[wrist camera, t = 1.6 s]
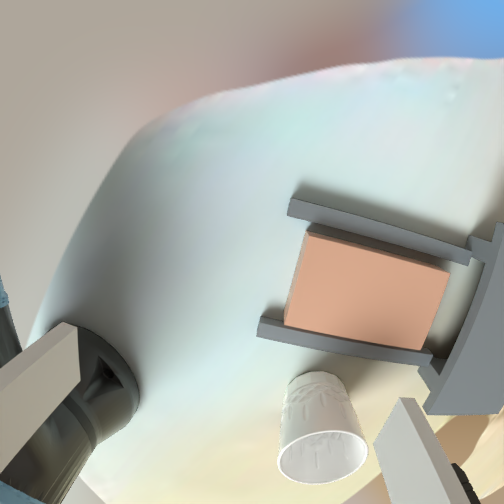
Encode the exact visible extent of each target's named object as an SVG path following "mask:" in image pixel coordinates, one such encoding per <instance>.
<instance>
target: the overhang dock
mask: <svg viewBox="0 0 504 504" xmlns="http://www.w3.org/2000/svg"><path fill="white" fill-rule="evenodd" d="M287 216H290V217H294V218H298V219H302V220H306V221H310V222H314V223H318V224H322V225H326V226H330V227H333V228H337V229H341V230H345V231H348V232H352V233H356V234H360V235H363V236H367V237H371V238H374V239H378V240H381V241H385V242H389V243H392V244H396V245H399V246H403V247H406V248H409V249H413V250H416V251H420V252H423V253H426V254H430V255H433V256H436V257H440V258H443V259H446V260H450V261H453V262H456V263H459V264H462V265H466V266H468V265H469V262H470V258H471V257H473V258H475V259H477V260H479V261H482V262H484V263H485V266H484V269H483V273H482V276H481V279H480V282H479V285H478V288H477V290H476V293H475V296H474V299H473V301H472V304H471V307H470V309H469V312H468V314H467V317H466V319H465V322H464V324H463V327H462V329H461V331H460V334H459V336H458V338H457V340H456V343H455V345H454V347H453V349H452V351H451V354H450V356H449V358H448V359H441V358H433V354H432V353H431V351H430V350H429V349H427V348H421V350H415V349H408V348H402V347H396V346H390V345H384V344H378V343H372V342H367V341H361V340H356V339H351V338H345V337H340V336H335V335H330V334H325V333H320V332H315V331H310V330H306V329H301V328H296V327H292V326H287V325H284V321H280V320H275V319H271V318H266V317H262V316H261V317H260V321H259V325H258V329H257V335H256V337H260V338H265V339H269V340H274V341H278V342H283V343H287V344H292V345H297V346H302V347H307V348H312V349H317V350H322V351H327V352H333V353H338V354H344V355H350V356H356V357H362V358H368V359H374V360H380V361H387V362H394V363H401V364H409V365H416V366H420V367H419V369H418V373H419V374H420V376H421V377H422V379H423V380H424V382H425V384H426V385H427V387H428V388H429V390H430V391H431V392H430V394H429V396H428V398H427V400H426V401H425V403H424V405H423V406H422V407H423V409H424V410H425V412H426V414H427V415H485V414H498V413H499V412H500V410H501V408H502V407H503V405H504V223H500V222H496V226H495V231H494V234H493V238H492V242H488V241H486V240H483V239H480V238H477V237H474V236H471V235H469V236H468V240H467V244H466V247H465V249H464V248H461V247H458V246H455V245H452V244H449V243H446V242H443V241H440V240H437V239H434V238H431V237H428V236H425V235H422V234H418V233H415V232H412V231H409V230H406V229H402V228H399V227H396V226H392V225H389V224H386V223H382V222H379V221H375V220H372V219H369V218H365V217H362V216H358V215H354V214H351V213H347V212H344V211H340V210H336V209H332V208H329V207H325V206H321V205H317V204H313V203H310V202H306V201H302V200H298V199H294V198H291V199H290V203H289V207H288V211H287Z"/></svg>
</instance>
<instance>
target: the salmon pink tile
mask: <svg viewBox="0 0 504 504" xmlns="http://www.w3.org/2000/svg"><path fill="white" fill-rule="evenodd" d="M449 276H450V273H449V272H447V271H445V270H443V269H442V268H440V267H438V266H436V265H433V264H430V263H426V262H423V261H419V260H415V259H412V258H408V257H405V256H401V255H398V254H394V253H390V252H387V251H383V250H379V249H376V248H372V247H368V246H364V245H361V244H357V243H353V242H349V241H345V240H342V239H338V238H334V237H330V236H326V235H322V234H318V233H314V232H310V231H305V235H304V239H303V243H302V247H301V251H300V254H299V258H298V262H297V266H296V269H295V273H294V277H293V280H292V284H291V287H290V291H289V295H288V298H287V302H286V305H285V309H284V325H287V326H292V327H296V328H301V329H306V330H310V331H315V332H320V333H325V334H330V335H335V336H340V337H345V338H351V339H356V340H361V341H367V342H372V343H378V344H384V345H390V346H396V347H402V348H408V349H415V350H421V348H422V346H423V344H424V341H425V339H426V337H427V334H428V332H429V330H430V327H431V325H432V322H433V320H434V317H435V315H436V312H437V310H438V307H439V304H440V302H441V299H442V296H443V294H444V291H445V288H446V285H447V282H448V279H449Z"/></svg>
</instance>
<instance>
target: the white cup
mask: <svg viewBox="0 0 504 504" xmlns="http://www.w3.org/2000/svg"><path fill="white" fill-rule="evenodd" d="M367 456H368V445H367V442H366V439H365V437H364V434H363V431H362V428H361V426H360V423H359V420H358V417H357V415H356V412H355V410H354V408H353V405H352V403H351V400H350V398H349V397H348V395H347V392H346V389H345V387H344V384H343V383H342V382H341V381H340V380H339V378H338V377H337V376H336V375H333V374H330V373H327V372H325V371H317V372H308V373H305V374H303V375H300V376H298V377H296V378H295V379H294V380H293V381H292V382H291V383H290V384H289V385H288V386H287V388H286V391H285V394H284V400H283V409H282V416H281V426H280V438H279V450H278V461H277V463H278V468H279V470H280V471H281V473H282V474H283V475H284V476H286V477H287V478H289V479H291V480H293V481H295V482H299V483H303V484H326V483H331V482H335V481H338V480H341V479H343V478H345V477H347V476H349V475H351V474H353V473H354V472H355V471H357V470H358V469H359V468H360V467H361V466H362V465H363V464H364V462H365V461H366V459H367Z"/></svg>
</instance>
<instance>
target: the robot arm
mask: <svg viewBox="0 0 504 504" xmlns="http://www.w3.org/2000/svg"><path fill="white" fill-rule="evenodd" d="M8 303H9V301H8V295H7V293H6V292H5V291H4V288H3V284H2V280H1V276H0V504H61V503H62V501H63V499H64V498H65V496H66V494H67V493H68V491H69V489H70V488H71V486H72V484H73V483H74V481H75V479H76V477H77V476H78V474H79V473H80V471H81V470H82V468H83V466H84V465H85V463H86V461H87V460H88V458H89V457H90V455H91V453H92V452H93V450H94V449H95V447H96V446H97V445H98V444H99V443H101V442H103V441H104V440H106V439H107V438H109V437H110V436H112V435H113V434H115V433H116V432H118V431H119V430H121V429H122V428H124V427H125V426H126V425H127V424H128V423H129V422H130V420H131V418H132V417H133V415H134V413H135V412H136V410H137V407H138V404H139V391H138V387H137V383H136V380H135V378H134V376H133V374H132V372H131V370H130V368H129V367H128V365H127V364H126V362H125V361H124V360H123V358H122V357H121V356H120V355H119V353H118V352H117V351H116V350H115V349H114V348H113V347H112V346H111V345H109V344H108V343H107V342H106V341H105V340H103V339H102V338H101V337H99V336H98V335H96V334H94V333H93V332H91V331H89V330H86V329H84V328H81V327H78V326H74V325H70V324H67V323H65V322H61V323H60V324H59V325H57V326H56V327H55V328H53V329H52V330H50V331H49V332H48V333H46V334H45V335H43V336H42V337H41V338H40V339H38V340H37V341H36V342H34V343H33V344H32V345H30V346H29V347H28V348H26V349H25V350H24V351H22V348H21V345H20V342H19V339H18V336H17V333H16V330H15V326H14V323H13V319H12V316H11V313H10V309H9V305H8ZM373 446H374V449H375V452H376V455H377V458H378V461H379V464H380V467H381V471H382V474H383V477H384V480H385V483H386V486H387V490H388V493H389V497H390V500H391V503H392V504H481V503H480V501H479V499H478V497H477V495H476V493H475V491H473V487H472V486H471V484H470V483H469V480H468V478H467V476H466V474H465V472H464V471H463V470H462V469H461V468H460V467H459V466H458V465H457V464H456V463H453V464H451V463H450V462H449V460H448V458H447V456H446V454H445V452H444V451H443V448H442V447H441V445H440V443H439V441H438V439H437V437H436V436H435V434H434V432H433V430H432V428H431V427H430V425H429V423H428V421H427V419H426V418H425V416H424V414H423V412H422V411H421V409H420V407H419V405H418V404H417V402H416V400H415V398H401V397H399V399H398V401H397V403H396V405H395V406H394V408H393V410H392V412H391V414H390V416H389V417H388V419H387V421H386V423H385V424H384V426H383V428H382V429H381V431H380V433H379V435H378V436H377V438H376V439H375V441H374V443H373Z"/></svg>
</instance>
